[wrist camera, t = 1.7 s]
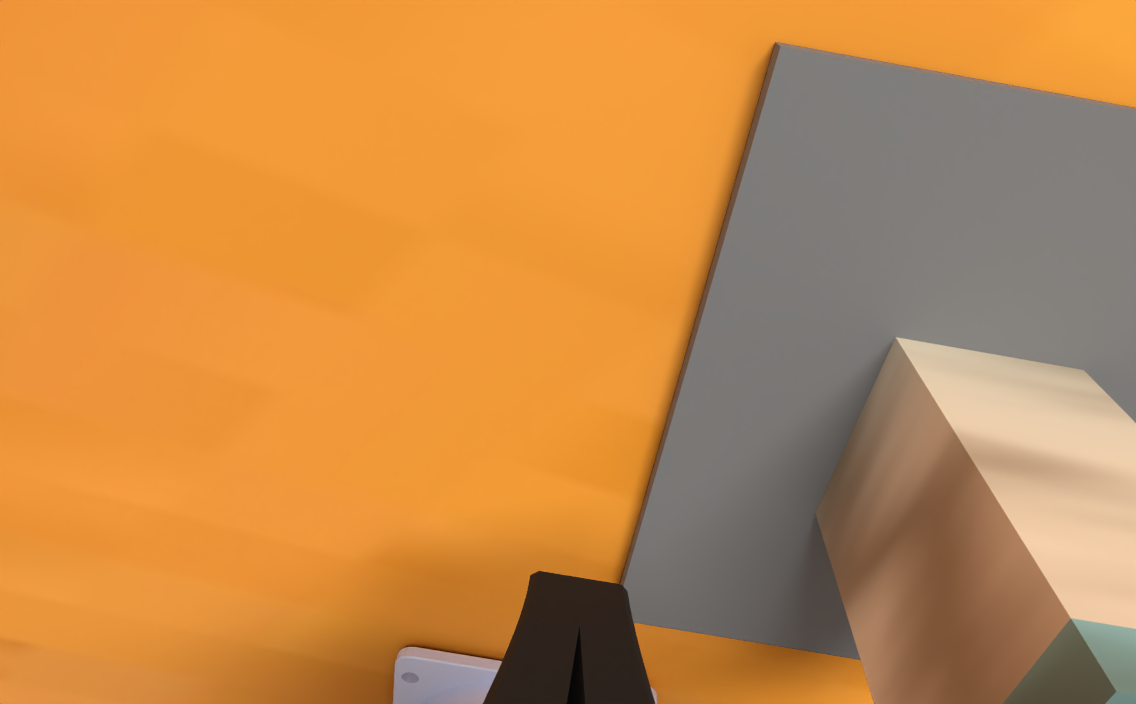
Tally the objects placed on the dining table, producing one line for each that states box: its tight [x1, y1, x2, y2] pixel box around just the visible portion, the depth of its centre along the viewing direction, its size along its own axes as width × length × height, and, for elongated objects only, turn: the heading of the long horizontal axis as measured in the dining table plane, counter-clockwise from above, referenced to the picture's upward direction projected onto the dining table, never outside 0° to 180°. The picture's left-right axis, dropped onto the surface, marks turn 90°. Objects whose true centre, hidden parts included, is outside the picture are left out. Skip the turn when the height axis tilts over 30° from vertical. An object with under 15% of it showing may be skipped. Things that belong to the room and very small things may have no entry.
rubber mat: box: [620, 42, 1136, 660], centre depth 17 cm, size 15×18×1 cm
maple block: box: [815, 337, 1136, 704], centre depth 13 cm, size 5×4×8 cm
